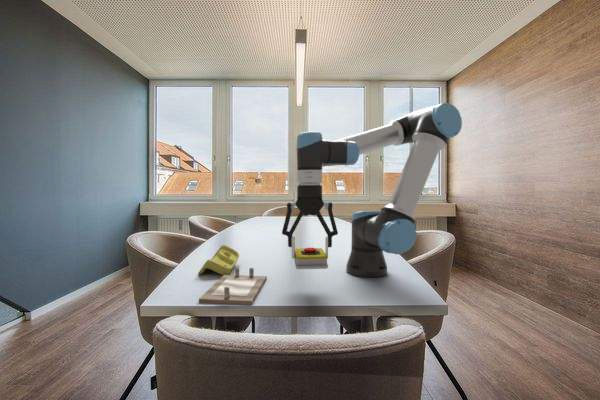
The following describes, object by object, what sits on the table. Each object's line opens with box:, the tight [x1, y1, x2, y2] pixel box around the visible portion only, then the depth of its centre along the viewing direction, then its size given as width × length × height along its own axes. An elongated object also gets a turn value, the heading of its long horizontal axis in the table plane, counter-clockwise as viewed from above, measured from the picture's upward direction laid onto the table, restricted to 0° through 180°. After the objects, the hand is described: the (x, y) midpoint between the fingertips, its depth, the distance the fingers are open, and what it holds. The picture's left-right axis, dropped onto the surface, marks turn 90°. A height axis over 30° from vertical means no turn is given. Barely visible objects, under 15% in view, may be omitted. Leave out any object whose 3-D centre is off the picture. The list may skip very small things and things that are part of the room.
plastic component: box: [198, 244, 240, 276], centre depth 123 cm, size 20×7×10 cm
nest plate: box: [198, 266, 268, 305], centre depth 99 cm, size 23×15×4 cm, turn 176°
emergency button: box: [294, 247, 329, 270], centre depth 97 cm, size 9×4×15 cm
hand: (310, 257), depth 97 cm, fingers closed on emergency button, 9 cm apart
